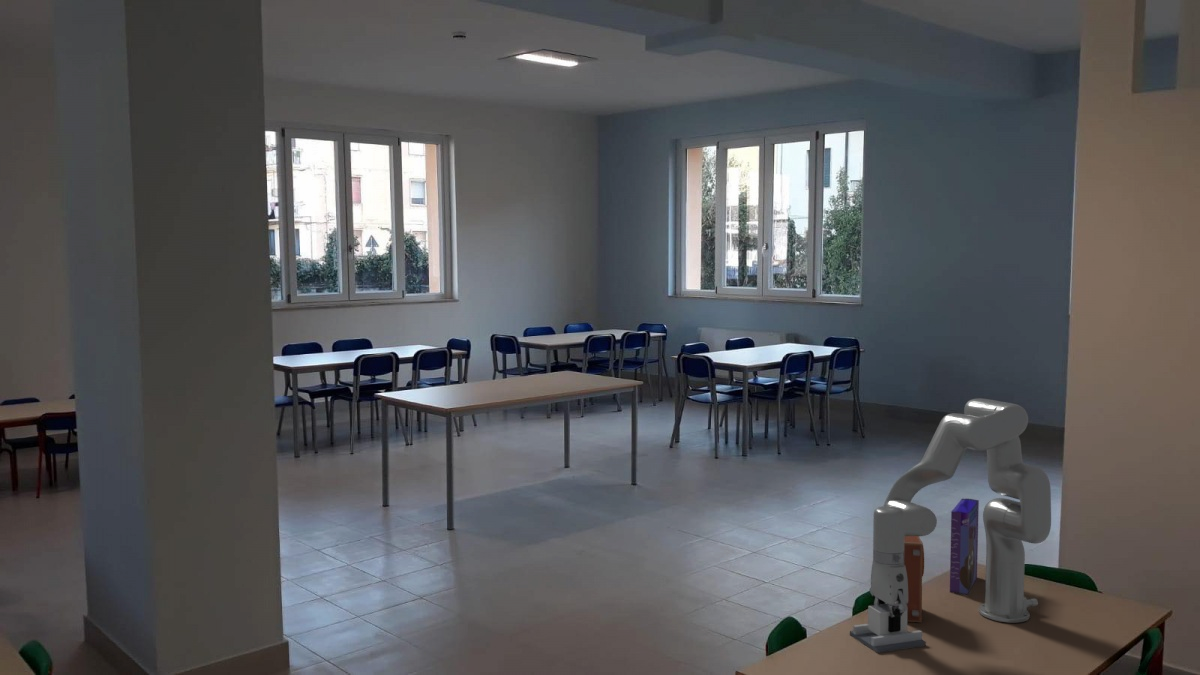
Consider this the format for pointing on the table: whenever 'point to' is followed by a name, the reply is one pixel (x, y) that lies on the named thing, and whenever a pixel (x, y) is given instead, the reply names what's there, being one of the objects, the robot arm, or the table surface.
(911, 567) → the orange upright battery pack
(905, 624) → the block
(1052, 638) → the table surface
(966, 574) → the cereal box
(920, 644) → the grey rail base plate
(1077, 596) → the table surface
